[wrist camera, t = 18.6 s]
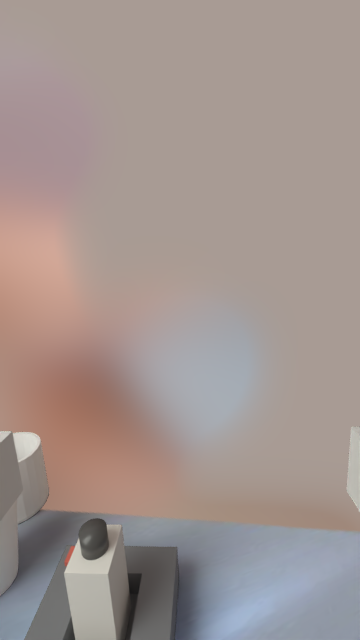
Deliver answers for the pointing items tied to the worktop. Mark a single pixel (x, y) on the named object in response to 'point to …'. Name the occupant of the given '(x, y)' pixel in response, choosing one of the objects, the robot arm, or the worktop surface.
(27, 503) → the mug
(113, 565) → the plug
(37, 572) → the worktop surface
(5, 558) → the foam cup
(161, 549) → the socket
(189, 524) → the worktop surface
